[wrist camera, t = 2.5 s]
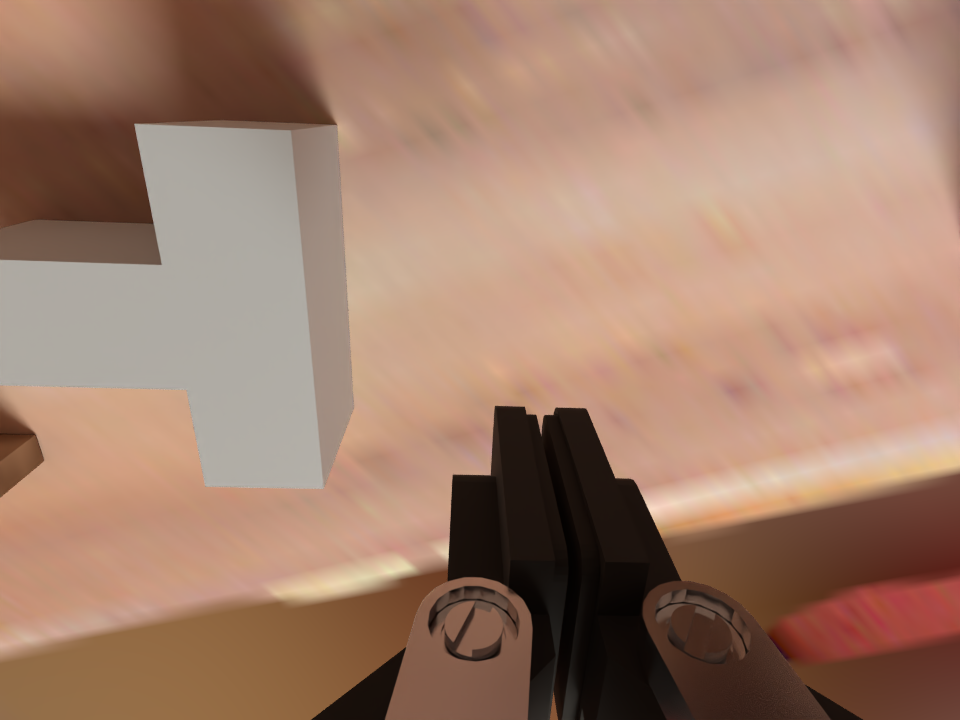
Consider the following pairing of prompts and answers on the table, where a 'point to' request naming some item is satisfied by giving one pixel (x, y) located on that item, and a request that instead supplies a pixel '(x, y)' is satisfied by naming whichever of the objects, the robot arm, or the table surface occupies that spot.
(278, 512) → the table surface
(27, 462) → the corral
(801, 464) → the table surface
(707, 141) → the table surface
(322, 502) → the table surface
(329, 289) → the tee block
